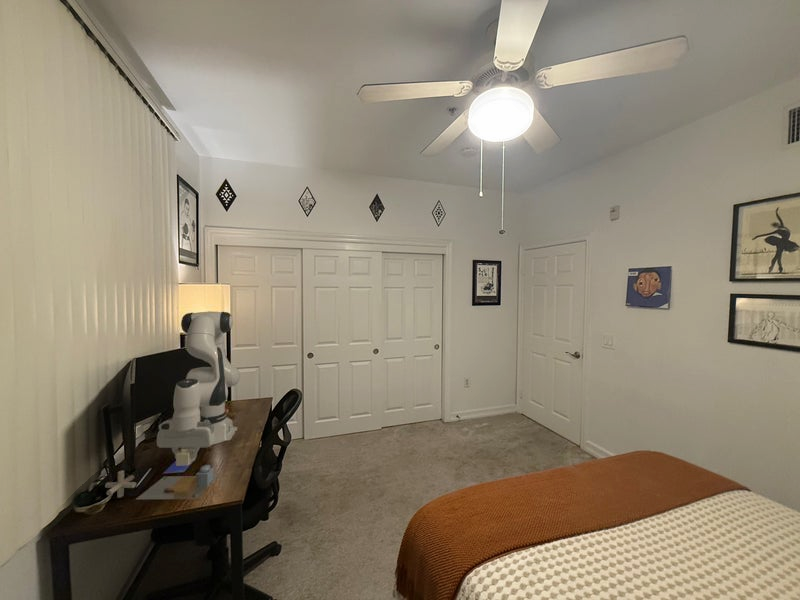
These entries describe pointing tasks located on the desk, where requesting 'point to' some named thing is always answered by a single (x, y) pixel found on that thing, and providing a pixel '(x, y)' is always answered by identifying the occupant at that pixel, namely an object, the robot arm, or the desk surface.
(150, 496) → the plate
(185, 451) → the cream knobbed block
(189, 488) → the pigtail stub
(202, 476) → the blue-grey knobbed block
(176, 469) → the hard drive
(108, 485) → the pipe connector
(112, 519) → the desk surface
